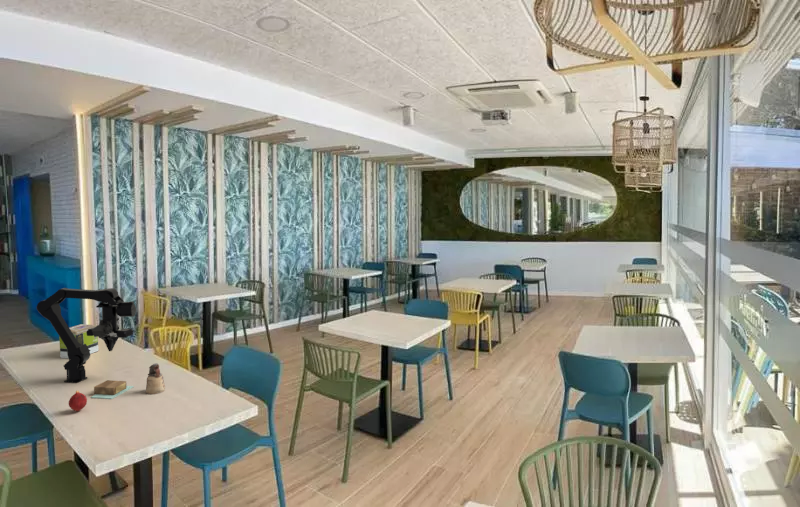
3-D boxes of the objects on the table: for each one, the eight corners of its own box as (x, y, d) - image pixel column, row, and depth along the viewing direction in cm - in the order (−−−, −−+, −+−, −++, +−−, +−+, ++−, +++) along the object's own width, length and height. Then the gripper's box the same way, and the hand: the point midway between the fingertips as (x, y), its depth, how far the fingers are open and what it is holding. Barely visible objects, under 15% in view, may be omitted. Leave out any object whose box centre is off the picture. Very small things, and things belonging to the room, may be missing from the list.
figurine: (161, 387, 213) (161, 360, 212) (167, 391, 208) (166, 363, 207) (143, 390, 208) (143, 363, 207) (149, 395, 203) (148, 367, 202)
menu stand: (94, 386, 201) (114, 387, 201) (107, 380, 209) (126, 381, 208) (94, 394, 202) (114, 395, 201) (107, 387, 210) (127, 388, 209)
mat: (90, 397, 199) (90, 396, 199) (113, 385, 212) (113, 385, 212) (111, 399, 198) (111, 398, 198) (133, 387, 212) (133, 386, 212)
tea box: (82, 350, 265) (81, 323, 264) (99, 351, 263) (98, 324, 262) (59, 358, 250) (58, 329, 249) (76, 359, 249) (76, 331, 247)
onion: (90, 409, 187) (90, 389, 186) (76, 415, 182) (75, 394, 181) (79, 407, 189) (79, 387, 188) (65, 413, 183) (64, 392, 183)
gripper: (76, 319, 212) (77, 355, 213) (116, 321, 210) (117, 357, 211) (95, 314, 223) (96, 348, 224) (133, 316, 221) (134, 350, 222)
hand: (110, 351), depth 220 cm, fingers closed
